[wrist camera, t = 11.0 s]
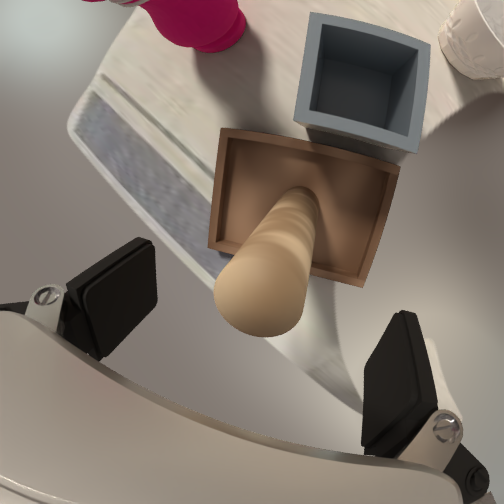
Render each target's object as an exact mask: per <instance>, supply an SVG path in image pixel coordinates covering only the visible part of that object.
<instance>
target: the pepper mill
mask: <svg viewBox="0 0 504 504" xmlns="http://www.w3.org/2000/svg"><path fill="white" fill-rule="evenodd" d="M83 1H88V2H98V1H105V0H83ZM109 1H111V2H113V3H116V4H119V5H121V6H123V7H134V6H140V7H142V8H143V9H145V10H146V11H147V12H148V13H149V14H150V16H151V18H152V20H153V22H154V24H155V26H156V28H157V29H158V31H159V32H160V33H161V34H162V35H163V36H164V37H165V38H166V39H168V40H169V41H171V42H172V43H174V44H176V45H179V46H183V47H193V48H195V49H196V50H199V51H201V52H206V53H214V52H219V51H223V50H225V49H227V48H229V47H231V46H232V45H233V44H235V43H236V42H237V41H238V40H239V38H240V37H241V36H242V34H243V32H244V30H245V26H246V21H245V16H244V14H243V13H242V11H241V10H240V9H239V8H238V2H237V0H109Z"/></svg>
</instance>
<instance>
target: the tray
mask: <svg viewBox="0 0 504 504" xmlns="http://www.w3.org/2000/svg"><path fill="white" fill-rule="evenodd" d="M399 172H400V166H398V165H395V164H392V163H389V162H386V161H382V160H379V159H376V158H373V157H369V156H366V155H362V154H359V153H355V152H351V151H347V150H344V149H340V148H336V147H332V146H327V145H323V144H319V143H314V142H310V141H305V140H300V139H295V138H290V137H284V136H279V135H273V134H267V133H261V132H254V131H247V130H239V129H231V128H221V130H220V138H219V145H218V153H217V161H216V169H215V178H214V187H213V196H212V206H211V216H210V226H209V238H208V248H210V249H214V250H218V251H222V252H225V253H229V254H233V255H235V254H236V253H237V251H238V250H239V249H240V248H241V246H242V245H243V244H244V243H245V241H246V240H247V239H248V238H249V236H250V235H251V234H252V233H253V231H254V230H255V229H256V228H257V226H258V225H259V224H260V223H261V221H262V220H263V219H264V218H265V216H266V215H267V214H268V213H269V211H270V210H271V209H272V208H273V206H274V205H275V204H276V203H277V202H278V200H279V199H280V198H281V197H282V195H283V194H284V193H285V192H286V191H287V190H288V189H290V188H292V187H295V186H304V187H307V188H309V189H310V190H312V191H313V192H314V193H315V194H316V196H317V198H318V201H319V212H318V220H317V228H316V235H315V242H314V249H313V255H312V262H311V268H310V275H314V276H318V277H322V278H326V279H330V280H333V281H337V282H341V283H345V284H349V285H354V286H357V287H362V288H363V286H364V283H365V281H366V278H367V275H368V273H369V270H370V267H371V265H372V262H373V259H374V256H375V253H376V251H377V248H378V245H379V242H380V239H381V236H382V232H383V229H384V226H385V223H386V220H387V216H388V213H389V209H390V206H391V202H392V199H393V195H394V191H395V188H396V184H397V180H398V175H399Z"/></svg>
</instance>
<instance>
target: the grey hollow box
mask: <svg viewBox="0 0 504 504" xmlns="http://www.w3.org/2000/svg"><path fill="white" fill-rule="evenodd" d="M430 47H431V45H430V44H428V43H426V42H423V41H421V40H418V39H416V38H413V37H410V36H408V35H405V34H402V33H399V32H396V31H393V30H390V29H387V28H383V27H380V26H376V25H373V24H369V23H365V22H361V21H357V20H353V19H348V18H343V17H338V16H333V15H327V14H321V13H314V12H310V16H309V23H308V30H307V37H306V43H305V50H304V56H303V63H302V69H301V75H300V81H299V88H298V94H297V100H296V106H295V112H294V118H293V121H295V122H297V123H298V124H300V125H302V126H303V127H305V128H310V129H314V130H319V131H324V132H328V133H332V134H336V135H341V136H344V137H348V138H352V139H356V140H360V141H363V142H367V143H370V144H374V145H377V146H380V147H383V148H387V149H393V150H398V151H404V152H409V153H414V154H417V152H418V147H419V142H420V137H421V131H422V126H423V120H424V113H425V106H426V98H427V90H428V80H429V67H430Z"/></svg>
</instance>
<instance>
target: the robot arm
mask: <svg viewBox="0 0 504 504" xmlns="http://www.w3.org/2000/svg"><path fill="white" fill-rule="evenodd" d="M66 286H67V290H68V291H67V292H66V293H64V290H63V288H62V287H60V286H58V285H54V284H50V285H45V286H42V287H40V288H38V289H37V290H36V291H35V292H34V293H33V294H32V296H31V298H30V301H27V302H18V303H8V304H0V504H496V502H495V500H494V497H493V495H492V493H491V491H490V492H488V493H487V489H488V487H489V474H488V471H487V470H486V468H485V467H484V466H483V465H482V464H481V463H480V462H479V461H478V460H477V459H476V458H475V457H474V456H473V455H472V454H471V453H470V452H469V451H468V450H467V449H466V448H465V447H464V446H463V445H462V444H461V443H460V442H461V439H462V437H463V427H462V423H461V421H460V419H459V418H458V417H457V416H456V415H455V414H454V413H453V412H451V411H449V410H445V409H444V410H438V405H437V403H438V400H437V395H436V389H435V384H434V379H433V375H432V370H431V366H430V362H429V358H428V354H427V350H426V346H425V342H424V339H423V335H422V332H421V328H420V325H419V322H418V318H417V315H416V314H415V313H412V312H409V311H405V310H401V311H400V312H399V313H395V314H394V315H393V317H392V319H391V321H390V323H389V324H388V326H387V328H386V330H385V332H384V334H383V335H382V337H381V339H380V341H379V343H378V344H377V346H376V348H375V349H374V351H373V353H372V354H371V356H370V358H369V359H368V361H367V363H366V365H365V368H364V400H363V422H362V437H361V446H363V447H365V449H364V455H357V454H350V453H343V452H336V451H330V450H326V449H320V448H315V447H309V446H305V445H300V444H296V443H291V442H287V441H283V440H279V439H275V438H272V437H268V436H265V435H261V434H257V433H254V432H251V431H248V430H245V429H241V428H239V427H236V426H233V425H230V424H227V423H224V422H221V421H218V420H215V419H213V418H211V417H208V416H205V415H203V414H200V413H198V412H195V411H193V410H191V409H188V408H186V407H184V406H181V405H179V404H177V403H175V402H172V401H170V400H168V399H166V398H164V397H161V396H159V395H158V394H156V393H153V392H152V391H149V390H148V389H146V388H144V387H142V386H140V385H138V384H136V383H134V382H132V381H131V380H129V379H127V378H125V377H123V376H122V375H120V374H118V373H117V372H115V371H113V370H111V369H110V368H108V367H106V366H105V365H103V364H102V363H100V362H99V361H100V360H101V359H102V358H103V357H107V356H108V355H109V354H110V353H111V352H112V351H113V350H114V349H115V348H116V347H117V346H118V345H119V344H120V343H121V342H122V341H123V340H124V339H125V338H126V336H127V335H128V334H129V333H130V332H131V331H132V330H133V329H134V328H135V327H136V326H137V325H138V324H139V323H140V322H141V321H142V320H143V319H144V318H145V317H146V316H147V315H148V314H149V313H150V312H151V311H152V310H153V308H155V306H156V304H157V299H158V298H157V283H156V264H155V247H154V246H153V245H152V242H151V241H150V240H147V239H144V238H141V237H137V238H135V239H133V240H132V241H130V242H128V243H127V244H125V245H124V246H122V247H120V248H119V249H117V250H116V251H114V252H112V253H111V254H109V255H108V256H106V257H105V258H103V259H102V260H100V261H99V262H97V263H96V264H94V265H93V266H91V267H90V268H88V269H87V270H85V271H84V272H82V273H81V274H79V275H78V276H76V277H75V278H73V279H72V280H71V281H69V282H68V283H66ZM87 353H88V354H89V355H87ZM365 455H373V456H365Z"/></svg>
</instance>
